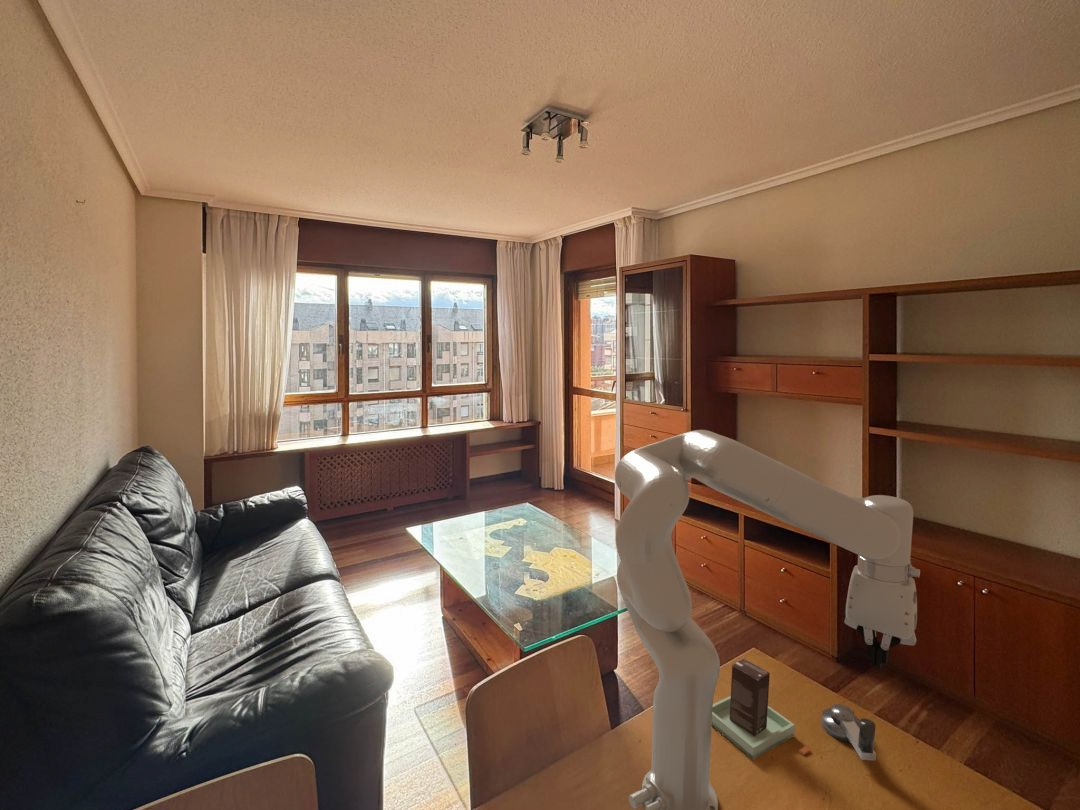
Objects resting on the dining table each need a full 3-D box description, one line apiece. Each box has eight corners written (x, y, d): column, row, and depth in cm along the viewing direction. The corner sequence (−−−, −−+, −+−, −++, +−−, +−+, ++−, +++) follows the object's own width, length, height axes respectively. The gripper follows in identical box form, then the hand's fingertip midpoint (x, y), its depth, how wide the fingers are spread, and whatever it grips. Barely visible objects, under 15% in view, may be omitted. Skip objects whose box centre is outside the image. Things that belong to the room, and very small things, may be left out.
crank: (827, 711, 107) (829, 682, 106) (848, 712, 106) (850, 684, 105) (856, 759, 95) (859, 727, 94) (880, 761, 94) (883, 728, 93)
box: (767, 727, 104) (771, 672, 103) (754, 737, 102) (757, 681, 100) (741, 710, 109) (743, 657, 107) (727, 719, 106) (730, 665, 105)
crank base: (818, 766, 96) (819, 757, 95) (785, 741, 102) (785, 731, 101) (869, 734, 103) (870, 725, 103) (835, 712, 109) (835, 703, 109)
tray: (752, 760, 97) (753, 747, 97) (704, 719, 108) (704, 708, 107) (793, 736, 103) (794, 724, 103) (744, 699, 113) (744, 688, 113)
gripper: (939, 572, 88) (931, 672, 91) (840, 549, 98) (836, 639, 101) (933, 589, 83) (925, 694, 85) (829, 562, 93) (824, 657, 95)
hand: (876, 664), depth 93 cm, fingers closed
